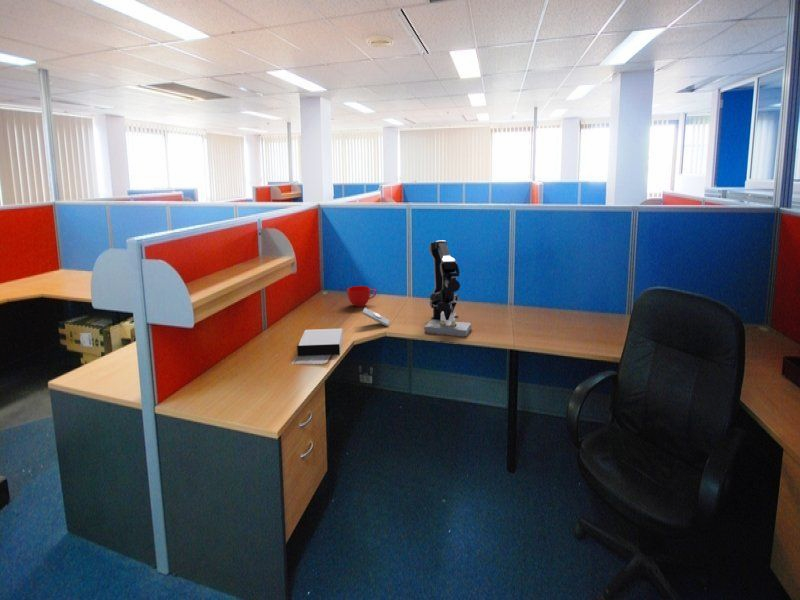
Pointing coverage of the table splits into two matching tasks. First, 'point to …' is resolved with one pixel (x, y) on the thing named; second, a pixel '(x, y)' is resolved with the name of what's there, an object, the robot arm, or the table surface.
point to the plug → (451, 318)
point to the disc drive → (320, 342)
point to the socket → (448, 328)
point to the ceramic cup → (359, 295)
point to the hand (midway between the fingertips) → (448, 318)
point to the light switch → (376, 317)
